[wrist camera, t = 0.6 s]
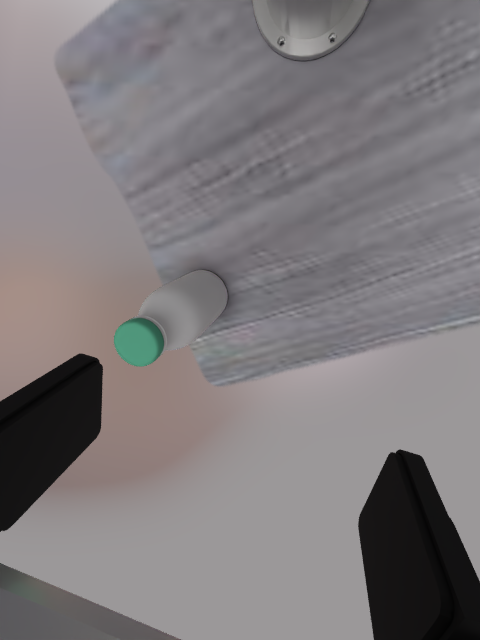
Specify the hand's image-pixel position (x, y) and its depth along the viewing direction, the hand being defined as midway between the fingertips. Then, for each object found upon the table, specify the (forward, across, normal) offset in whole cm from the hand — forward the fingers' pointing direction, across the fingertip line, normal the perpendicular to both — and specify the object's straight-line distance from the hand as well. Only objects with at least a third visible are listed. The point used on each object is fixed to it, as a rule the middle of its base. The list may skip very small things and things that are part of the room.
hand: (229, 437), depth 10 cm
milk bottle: (+36, +12, +8) cm, 39 cm away
